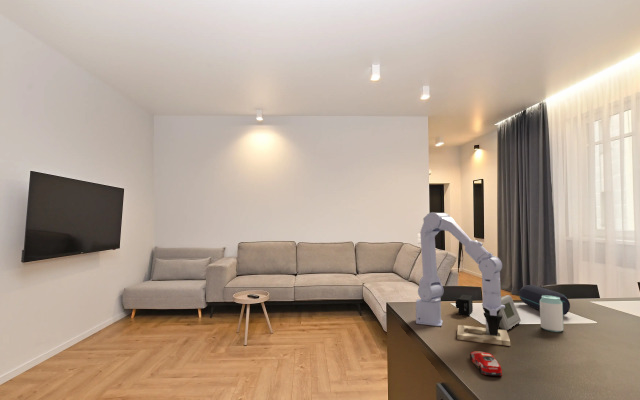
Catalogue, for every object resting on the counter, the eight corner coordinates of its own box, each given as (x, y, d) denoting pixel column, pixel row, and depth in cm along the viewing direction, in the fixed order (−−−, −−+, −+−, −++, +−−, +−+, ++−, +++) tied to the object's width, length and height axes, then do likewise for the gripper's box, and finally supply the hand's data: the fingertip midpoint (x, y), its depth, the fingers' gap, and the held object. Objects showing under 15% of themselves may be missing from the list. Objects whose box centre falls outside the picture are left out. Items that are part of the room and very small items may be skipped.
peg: (487, 339, 116) (486, 316, 117) (485, 335, 119) (484, 314, 120) (497, 340, 115) (496, 317, 116) (495, 336, 118) (494, 314, 119)
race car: (468, 358, 101) (467, 344, 101) (487, 359, 100) (486, 345, 100) (482, 378, 88) (481, 362, 88) (504, 379, 87) (504, 363, 87)
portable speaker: (575, 318, 140) (574, 294, 141) (551, 318, 140) (550, 294, 141) (537, 304, 165) (536, 283, 166) (516, 304, 165) (516, 283, 166)
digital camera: (459, 309, 155) (459, 294, 156) (472, 311, 152) (472, 295, 153) (455, 314, 146) (455, 298, 147) (469, 316, 143) (468, 300, 144)
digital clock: (506, 332, 123) (505, 302, 124) (482, 326, 131) (482, 298, 131) (529, 325, 132) (528, 297, 132) (506, 319, 139) (505, 293, 140)
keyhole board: (457, 339, 116) (457, 334, 116) (458, 328, 127) (458, 324, 127) (510, 346, 110) (510, 341, 110) (506, 334, 121) (506, 330, 121)
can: (539, 329, 126) (537, 297, 127) (542, 325, 131) (541, 294, 132) (562, 334, 121) (560, 300, 122) (565, 329, 126) (563, 296, 127)
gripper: (506, 297, 110) (508, 339, 109) (502, 288, 123) (503, 327, 122) (482, 295, 113) (483, 336, 112) (481, 287, 126) (482, 324, 125)
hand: (492, 331), depth 117 cm, fingers open, 7 cm apart
